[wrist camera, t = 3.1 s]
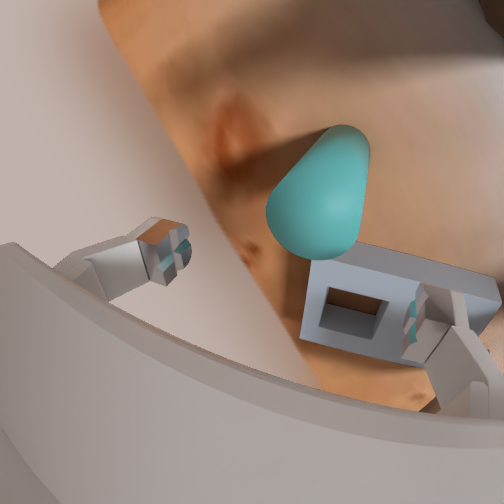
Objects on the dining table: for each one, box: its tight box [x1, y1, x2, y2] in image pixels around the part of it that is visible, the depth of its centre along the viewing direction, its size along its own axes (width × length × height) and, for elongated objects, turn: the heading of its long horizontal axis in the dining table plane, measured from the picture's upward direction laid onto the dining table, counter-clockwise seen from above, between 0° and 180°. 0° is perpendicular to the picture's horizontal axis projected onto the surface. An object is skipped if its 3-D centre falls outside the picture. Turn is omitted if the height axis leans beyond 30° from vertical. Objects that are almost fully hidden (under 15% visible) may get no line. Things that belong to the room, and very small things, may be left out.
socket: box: [299, 241, 502, 368], centre depth 21 cm, size 10×16×3 cm, turn 92°
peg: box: [266, 125, 370, 260], centre depth 13 cm, size 4×4×10 cm
